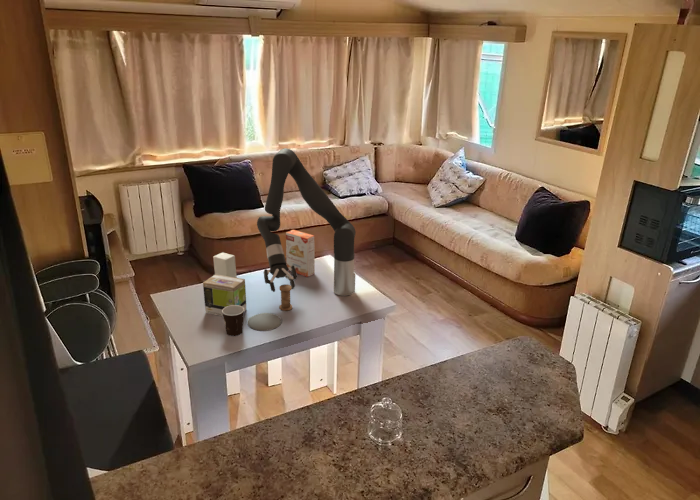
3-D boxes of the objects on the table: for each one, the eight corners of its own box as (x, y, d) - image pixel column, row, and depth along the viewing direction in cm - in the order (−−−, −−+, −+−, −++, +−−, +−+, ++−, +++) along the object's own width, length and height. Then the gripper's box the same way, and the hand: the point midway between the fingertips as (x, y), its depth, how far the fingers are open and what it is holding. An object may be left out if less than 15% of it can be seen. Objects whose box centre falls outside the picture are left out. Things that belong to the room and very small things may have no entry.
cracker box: (286, 270, 275) (285, 232, 267) (293, 266, 280) (293, 228, 272) (307, 277, 268) (307, 238, 260) (315, 273, 272) (315, 234, 265)
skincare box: (237, 285, 258) (235, 255, 252) (227, 290, 252) (225, 260, 247) (224, 281, 262) (222, 251, 256) (214, 286, 257) (212, 255, 251)
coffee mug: (226, 326, 222) (225, 304, 218) (247, 327, 222) (246, 305, 218) (219, 341, 211) (217, 318, 208) (241, 342, 211) (239, 319, 207)
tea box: (247, 309, 236) (245, 278, 231) (235, 319, 227) (233, 288, 222) (217, 303, 241) (215, 273, 235) (204, 313, 232) (202, 282, 226)
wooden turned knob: (290, 304, 242) (289, 283, 238) (293, 309, 237) (293, 288, 233) (277, 306, 240) (277, 285, 236) (281, 311, 235) (281, 290, 231)
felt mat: (276, 311, 235) (276, 310, 235) (285, 327, 223) (285, 326, 223) (244, 317, 229) (244, 316, 229) (252, 333, 218) (252, 332, 217)
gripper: (261, 255, 237) (269, 289, 232) (293, 251, 242) (301, 284, 237) (259, 261, 243) (266, 295, 238) (289, 257, 249) (297, 290, 243)
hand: (283, 290), depth 237 cm, fingers open, 8 cm apart
